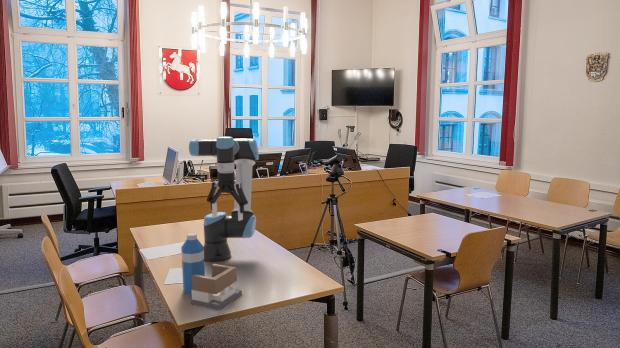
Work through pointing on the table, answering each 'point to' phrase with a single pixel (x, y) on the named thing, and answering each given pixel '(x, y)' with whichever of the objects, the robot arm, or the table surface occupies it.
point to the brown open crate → (215, 279)
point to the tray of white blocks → (215, 298)
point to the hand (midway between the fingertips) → (227, 218)
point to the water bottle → (192, 261)
